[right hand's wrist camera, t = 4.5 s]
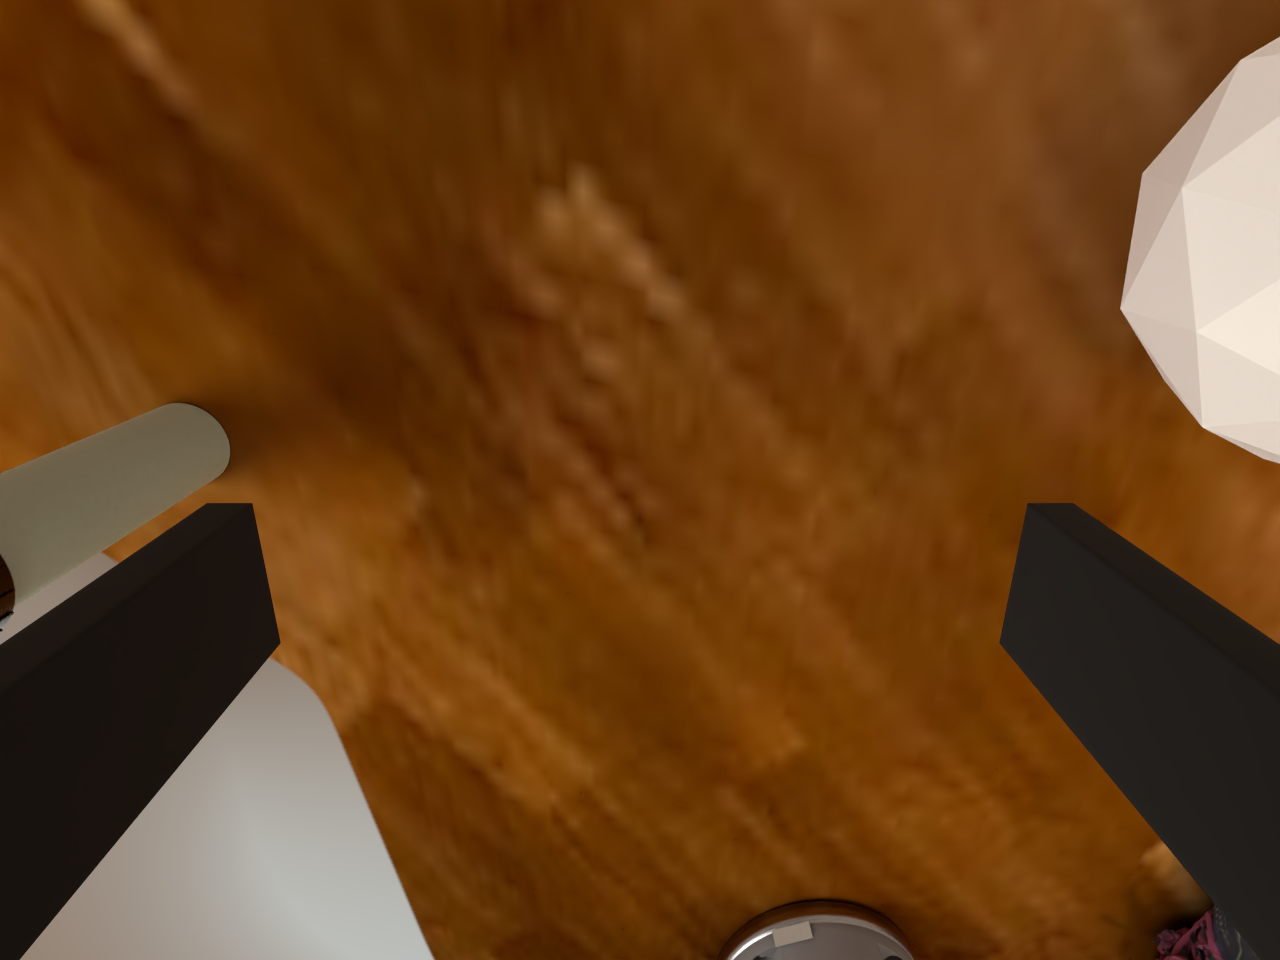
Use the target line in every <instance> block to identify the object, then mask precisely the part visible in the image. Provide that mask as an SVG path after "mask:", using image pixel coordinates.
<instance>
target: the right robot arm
mask: <svg viewBox="0 0 1280 960" xmlns="http://www.w3.org/2000/svg"><path fill="white" fill-rule="evenodd" d="M279 644H280V638H279V633H278V628H277V623H276V618H275V613H274V608H273V603H272V598H271V594H270V589H269V584H268V579H267V574H266V569H265V564H264V559H263V554H262V549H261V544H260V539H259V534H258V529H257V524H256V520H255V515H254V510H253V505H252V503H207V504H205V505H204V506H202V507H201V508H199V509H198V510H196V511H195V512H194V513H192V514H191V515H189V516H188V517H186V518H185V519H183V520H182V521H180V522H179V523H178V524H176V525H175V526H173V527H172V528H170V529H169V530H167V531H166V532H164V533H163V534H161V535H160V536H159V537H157V538H156V539H154V540H153V541H151V542H150V543H148V544H147V545H145V546H144V547H142V548H141V549H140V550H138V551H137V552H135V553H134V554H132V555H131V556H129V557H128V558H126V559H125V560H123V561H122V562H121V563H119V564H118V565H116V566H115V567H113V568H112V569H110V570H109V571H107V572H106V573H104V574H103V575H102V576H100V577H99V578H97V579H96V580H94V581H93V582H91V583H90V584H88V585H87V586H85V587H84V588H83V589H81V590H80V591H78V592H77V593H75V594H74V595H72V596H71V597H69V598H68V599H67V600H65V601H64V602H62V603H61V604H59V605H58V606H56V607H55V608H53V609H52V610H50V611H49V612H48V613H46V614H45V615H43V616H42V617H40V618H39V619H37V620H36V621H34V622H33V623H32V624H30V625H29V626H27V627H26V628H24V629H23V630H21V631H20V632H18V633H17V634H15V635H14V636H13V637H11V638H10V639H8V640H7V641H5V642H4V643H2V644H1V645H0V960H20V959H21V957H22V956H23V955H24V954H25V952H26V951H27V950H28V949H29V948H30V946H31V945H32V944H33V943H34V942H35V940H36V939H37V938H38V937H39V935H40V934H41V933H42V932H43V931H44V929H45V928H46V927H47V926H48V925H49V923H50V922H51V921H52V920H53V918H54V917H55V916H56V915H57V914H58V912H59V911H60V910H61V909H62V907H63V906H64V905H65V904H66V903H67V901H68V900H69V899H70V898H71V897H72V895H73V894H74V893H75V892H76V891H77V889H78V888H79V887H80V886H81V885H82V883H83V882H84V881H85V880H86V878H87V877H88V876H89V875H90V874H91V872H92V871H93V870H94V869H95V867H96V866H97V865H98V864H99V863H100V861H101V860H102V859H103V858H104V857H105V855H106V854H107V853H108V852H109V851H110V849H111V848H112V847H113V846H114V844H115V843H116V842H117V841H118V840H119V838H120V837H121V836H122V835H123V834H124V832H125V831H126V830H127V829H128V827H129V826H130V825H131V824H132V823H133V821H134V820H135V819H136V818H137V817H138V815H139V814H140V813H141V812H142V810H143V809H144V808H145V807H146V806H147V804H148V803H149V802H150V801H151V800H152V798H153V797H154V796H155V795H156V793H157V792H158V791H159V790H160V789H161V787H162V786H163V785H164V784H165V783H166V781H167V780H168V779H169V778H170V776H171V775H172V774H173V773H174V772H175V770H176V769H177V768H178V767H179V766H180V764H181V763H182V762H183V761H184V760H185V758H186V757H187V756H188V755H189V753H190V752H191V751H192V750H193V749H194V747H195V746H196V745H197V744H198V743H199V741H200V740H201V739H202V738H203V736H204V735H205V734H206V733H207V732H208V730H209V729H210V728H211V727H212V725H213V724H214V723H215V722H216V721H217V719H218V718H219V717H220V716H221V715H222V713H223V712H224V711H225V710H226V709H227V707H228V706H229V705H230V704H231V702H232V701H233V700H234V699H235V698H236V696H237V695H238V694H239V693H240V692H241V690H242V689H243V688H244V687H245V685H246V684H247V683H248V682H249V681H250V679H251V678H252V677H253V676H254V674H255V673H256V672H257V671H258V670H259V669H260V667H261V666H262V665H263V664H264V662H265V661H266V660H267V659H268V658H269V656H270V655H271V654H272V653H273V652H274V650H275V649H276V648H277V647H278V645H279ZM1000 644H1001V645H1002V647H1003V648H1004V649H1005V650H1006V652H1007V653H1008V654H1009V655H1010V656H1011V658H1012V659H1013V660H1014V661H1015V662H1016V664H1017V665H1018V666H1019V667H1020V669H1021V670H1022V671H1023V672H1024V673H1025V675H1026V676H1027V677H1028V678H1029V679H1030V681H1031V682H1032V683H1033V684H1034V686H1035V687H1036V688H1037V689H1038V690H1039V692H1040V693H1041V694H1042V695H1043V696H1044V698H1045V699H1046V700H1047V701H1048V702H1049V704H1050V705H1051V706H1052V707H1053V709H1054V710H1055V711H1056V712H1057V713H1058V715H1059V716H1060V717H1061V718H1062V719H1063V721H1064V722H1065V723H1066V724H1067V726H1068V727H1069V728H1070V729H1071V730H1072V732H1073V733H1074V734H1075V735H1076V736H1077V738H1078V739H1079V740H1080V741H1081V743H1082V744H1083V745H1084V746H1085V747H1086V749H1087V750H1088V751H1089V752H1090V753H1091V755H1092V756H1093V757H1094V758H1095V760H1096V761H1097V762H1098V763H1099V764H1100V766H1101V767H1102V768H1103V769H1104V770H1105V772H1106V773H1107V774H1108V775H1109V777H1110V778H1111V779H1112V780H1113V781H1114V783H1115V784H1116V785H1117V786H1118V787H1119V789H1120V790H1121V791H1122V792H1123V794H1124V795H1125V796H1126V797H1127V798H1128V800H1129V801H1130V802H1131V803H1132V804H1133V806H1134V807H1135V808H1136V809H1137V810H1138V812H1139V813H1140V814H1141V815H1142V817H1143V818H1144V819H1145V820H1146V821H1147V823H1148V824H1149V825H1150V826H1151V827H1152V829H1153V830H1154V831H1155V832H1156V834H1157V835H1158V836H1159V837H1160V838H1161V840H1162V841H1163V842H1164V843H1165V844H1166V846H1167V847H1168V848H1169V849H1170V851H1171V852H1172V853H1173V854H1174V855H1175V857H1176V858H1177V859H1178V860H1179V861H1180V863H1181V864H1182V865H1183V866H1184V868H1185V869H1186V870H1187V871H1188V872H1189V874H1190V875H1191V876H1192V877H1193V878H1194V880H1195V881H1196V882H1197V883H1198V885H1199V886H1200V887H1201V888H1202V889H1203V891H1204V892H1205V893H1206V894H1207V895H1208V897H1209V898H1210V899H1211V900H1212V901H1213V903H1214V904H1215V905H1216V906H1217V908H1218V909H1219V910H1220V911H1221V912H1222V914H1223V915H1224V916H1225V917H1226V918H1227V920H1228V921H1229V922H1230V923H1231V925H1232V926H1233V927H1234V928H1235V929H1236V931H1237V932H1238V933H1239V934H1240V935H1241V937H1242V938H1243V939H1244V940H1245V942H1246V943H1247V944H1248V945H1249V946H1250V948H1251V949H1252V950H1253V951H1254V952H1255V954H1256V955H1257V956H1258V957H1259V959H1260V960H1280V645H1279V644H1278V643H1276V642H1275V641H1273V640H1272V639H1270V638H1269V637H1268V636H1266V635H1265V634H1263V633H1262V632H1260V631H1259V630H1257V629H1256V628H1254V627H1253V626H1251V625H1250V624H1249V623H1247V622H1246V621H1244V620H1243V619H1241V618H1240V617H1238V616H1237V615H1235V614H1234V613H1232V612H1231V611H1230V610H1228V609H1227V608H1225V607H1224V606H1222V605H1221V604H1219V603H1218V602H1216V601H1215V600H1213V599H1212V598H1211V597H1209V596H1208V595H1206V594H1205V593H1203V592H1202V591H1200V590H1199V589H1197V588H1196V587H1195V586H1193V585H1192V584H1190V583H1189V582H1187V581H1186V580H1184V579H1183V578H1181V577H1180V576H1178V575H1177V574H1176V573H1174V572H1173V571H1171V570H1170V569H1168V568H1167V567H1165V566H1164V565H1162V564H1161V563H1159V562H1158V561H1157V560H1155V559H1154V558H1152V557H1151V556H1149V555H1148V554H1146V553H1145V552H1143V551H1142V550H1140V549H1139V548H1138V547H1136V546H1135V545H1133V544H1132V543H1130V542H1129V541H1127V540H1126V539H1124V538H1123V537H1121V536H1120V535H1119V534H1117V533H1116V532H1114V531H1113V530H1111V529H1110V528H1108V527H1107V526H1105V525H1104V524H1102V523H1101V522H1100V521H1098V520H1097V519H1095V518H1094V517H1092V516H1091V515H1089V514H1088V513H1086V512H1085V511H1084V510H1082V509H1081V508H1079V507H1078V506H1076V505H1075V504H1073V503H1028V505H1027V510H1026V515H1025V520H1024V524H1023V529H1022V534H1021V539H1020V544H1019V549H1018V554H1017V559H1016V564H1015V569H1014V574H1013V579H1012V584H1011V589H1010V594H1009V598H1008V603H1007V608H1006V613H1005V618H1004V623H1003V628H1002V633H1001V638H1000ZM717 960H915V959H914V956H913V953H912V950H911V948H910V945H909V943H908V941H907V940H906V938H905V936H904V935H903V934H902V932H901V931H900V930H899V929H898V928H897V927H896V926H895V925H894V924H893V923H891V922H890V921H889V920H887V919H886V918H884V917H883V916H881V915H879V914H877V913H875V912H873V911H871V910H868V909H866V908H863V907H860V906H856V905H852V904H847V903H841V902H831V901H814V902H803V903H797V904H792V905H788V906H784V907H780V908H777V909H774V910H772V911H769V912H767V913H764V914H762V915H760V916H758V917H757V918H755V919H753V920H751V921H750V922H748V923H747V924H745V925H744V926H743V927H741V928H740V929H739V930H738V931H737V932H736V933H735V934H733V936H732V937H731V938H730V939H729V940H728V941H727V943H726V944H725V945H724V947H723V949H722V950H721V952H720V954H719V957H718V959H717Z"/></svg>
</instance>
